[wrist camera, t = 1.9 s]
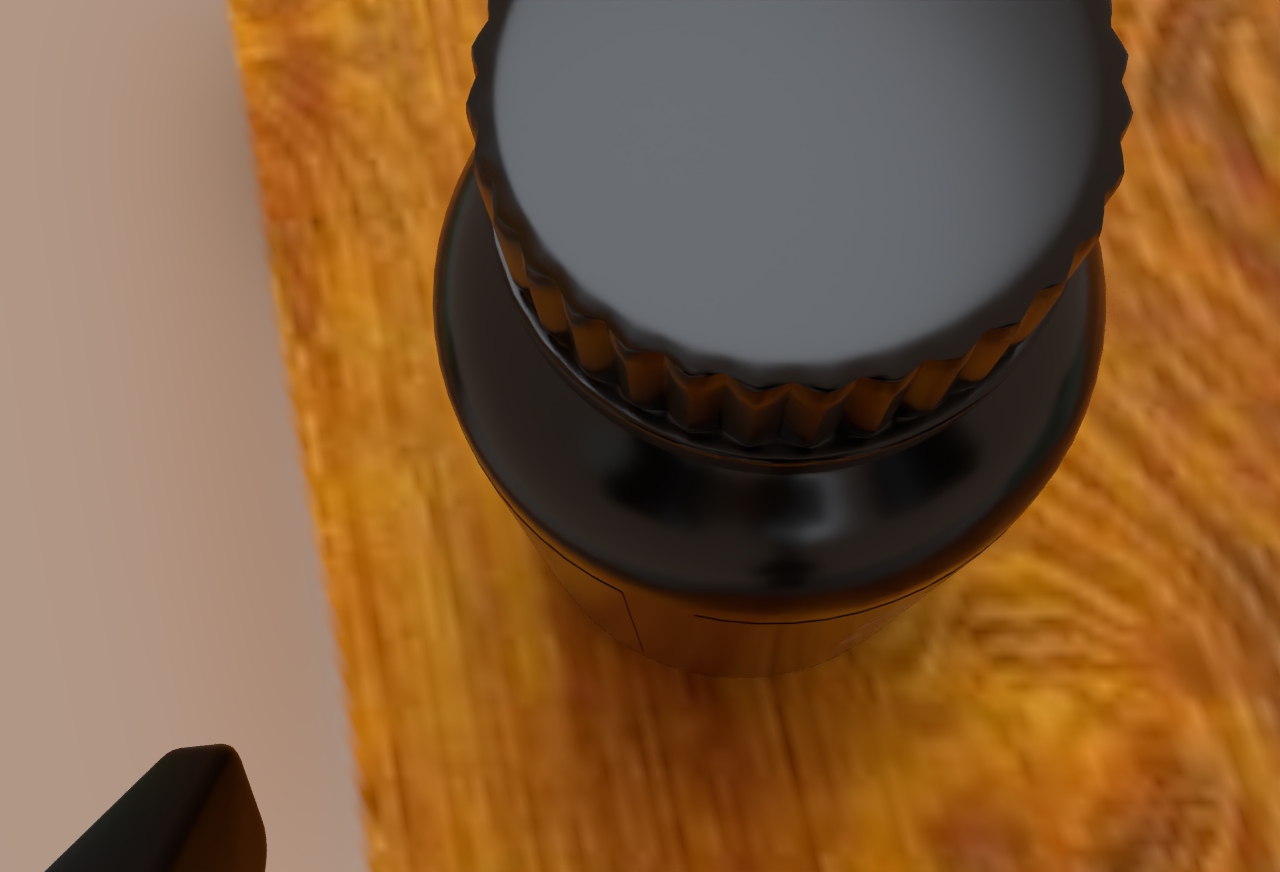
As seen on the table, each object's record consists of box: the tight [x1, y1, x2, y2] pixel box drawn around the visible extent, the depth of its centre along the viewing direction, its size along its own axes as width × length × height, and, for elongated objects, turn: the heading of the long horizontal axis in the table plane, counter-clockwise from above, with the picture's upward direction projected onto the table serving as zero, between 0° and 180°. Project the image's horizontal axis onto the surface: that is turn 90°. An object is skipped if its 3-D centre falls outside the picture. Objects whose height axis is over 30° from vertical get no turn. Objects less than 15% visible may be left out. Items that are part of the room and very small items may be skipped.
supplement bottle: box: [433, 0, 1133, 678], centre depth 14 cm, size 7×7×12 cm
